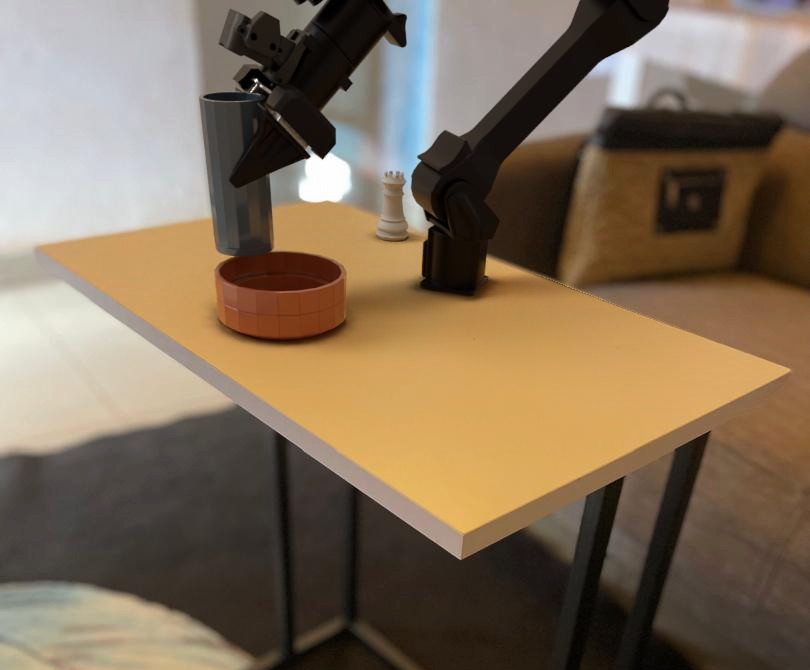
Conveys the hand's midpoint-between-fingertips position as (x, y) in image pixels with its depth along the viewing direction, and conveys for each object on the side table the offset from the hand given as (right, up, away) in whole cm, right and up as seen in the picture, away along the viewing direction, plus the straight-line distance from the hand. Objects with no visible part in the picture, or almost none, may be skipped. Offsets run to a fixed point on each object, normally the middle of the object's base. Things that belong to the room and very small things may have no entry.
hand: (225, 176), depth 82 cm
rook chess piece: (+16, +5, +30) cm, 34 cm away
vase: (+1, -5, +5) cm, 7 cm away
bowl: (+5, -13, +4) cm, 14 cm away
